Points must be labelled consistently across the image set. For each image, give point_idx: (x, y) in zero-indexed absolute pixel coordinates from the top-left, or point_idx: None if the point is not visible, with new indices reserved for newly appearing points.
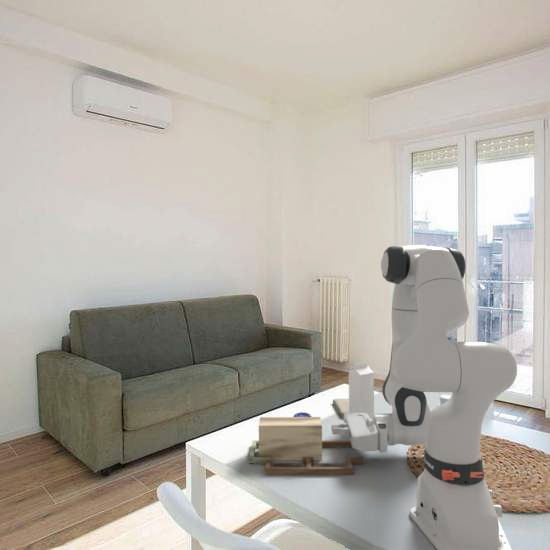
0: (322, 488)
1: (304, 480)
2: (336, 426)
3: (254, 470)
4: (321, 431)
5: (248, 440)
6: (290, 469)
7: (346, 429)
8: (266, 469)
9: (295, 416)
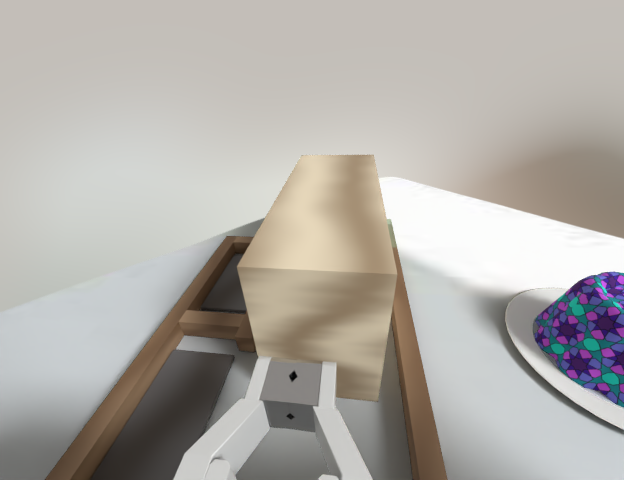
0: (65, 353)
1: (149, 312)
2: (291, 390)
3: None
4: (244, 292)
5: (419, 224)
6: (199, 275)
7: (177, 475)
8: (226, 238)
9: (602, 276)
